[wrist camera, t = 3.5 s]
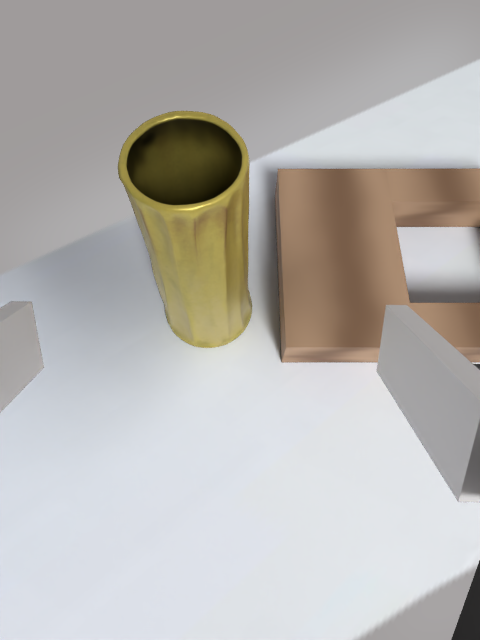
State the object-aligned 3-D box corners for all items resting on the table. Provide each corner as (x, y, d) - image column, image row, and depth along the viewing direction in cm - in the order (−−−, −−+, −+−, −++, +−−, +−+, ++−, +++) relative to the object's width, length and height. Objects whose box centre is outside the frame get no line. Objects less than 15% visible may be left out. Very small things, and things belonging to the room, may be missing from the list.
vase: (203, 256, 31) (176, 81, 18) (269, 301, 30) (291, 146, 16) (148, 315, 29) (72, 167, 16) (215, 366, 28) (191, 249, 15)
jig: (281, 362, 28) (286, 347, 25) (274, 196, 33) (278, 169, 30) (549, 362, 28) (583, 347, 25) (498, 195, 33) (521, 168, 30)
